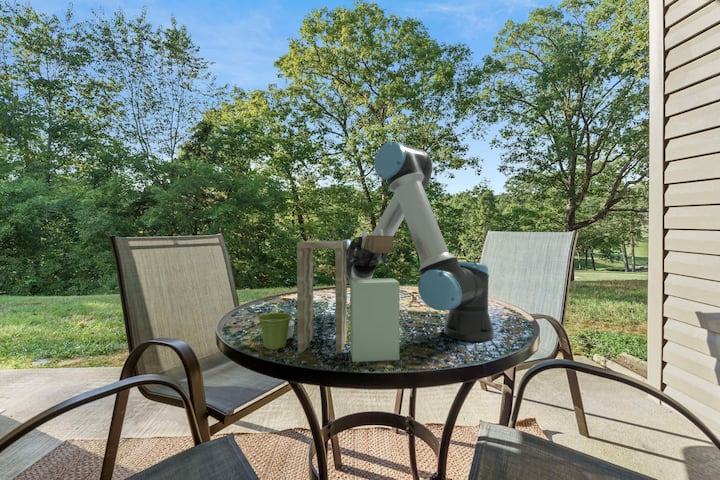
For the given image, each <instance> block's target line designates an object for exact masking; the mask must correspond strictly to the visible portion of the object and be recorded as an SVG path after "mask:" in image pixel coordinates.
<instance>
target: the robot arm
mask: <svg viewBox="0 0 720 480" xmlns="http://www.w3.org/2000/svg"><path fill="white" fill-rule="evenodd" d="M373 165H374V171H375V174H376V175H377V176H378V177H380V178H381V179H383V180H385V182H386V184H387V187H388V190H389V191H390V192H392V193H394V194H393V196H392V197H391V199H390V201H389V203H388V205H387V207H386V208H385V210H384V211H383V213H382V215H381V217H380V219H379V220H378V222H377V224H376V227H375V228H374V229H373V231H372V234H371V235H380V236H393V237H394V235H395V234H396V232H397V230H398V229H399V227H400V226H401V225H402V222H403V221H404V220H405V223H406V224H407V225H406V226H407V227H408V230H409V233H410V235H411V238H412V241H413V243H414V246H415V249H416V251H417V254H418V257H419V260H420V263H421V264H420V267H419V269H418V272H419V275H420V278H419V282H418V284H417V289H418V293H419V294H418V295H419V297H420V298H421V300H422V301H423V303H424V304H425V305H426V306H428V307H429V308H431V309H433V310H436V311H440V312H441V311H448V314H447V317H446V320H445V322H444V326H443V327H444V328H443V329H444V331H443V332H444V335H446V336H447V337H449V338H452V339H454V340H459V341H465V342H484V341H485V342H486V341H490V340H492V339H494V337H495V331H494V330H495V329H494V327H493V323H492V319H491V317H490V314H489V277H490V274H489V268H488V265H487V264H485V263H479V262H469V261H459V260H458V258H457V256H456V255H453V254H451V253H450V252H449V249H448V246H447V245H446V241H445V239H444V236H443V234H442V231H441V230H440V226H439V224H438V221H437V219H436V216H435V214H434V211H433V208H432V206H431V204H430V201H429V198H428V195H427V193H426V190H425V189H426V188H427V186H428V184H429V181H430V179H431V176H432V173H433V162H432V158H431V156H430V155H429V154H428V153H427V152H426V151H425V150H424V149H422V148H418V147H415V146H412V145H409V144H405V143H403V142H400V141H387V142H386V143H384V144H383V145H382V146H381V147H380V148H379V149H378V150H377V152H376V155H375V158H374V164H373ZM367 235H368V234H367V228H363V230H362V234H361V235H360V236H358V237H357V240H356V241H353V240H351V239H349V238H348V239H343V240H342V241H347V280H348V286H349V288H350V279H368V278H373V276H374V273H375V270H376V268H377V265H378V264H381V263H382V264H387V263H388V260H387V257H388V254H389V253H374V252H372V251H369V250H366V249H363V248H364V245H365V242H366V238H367Z"/></svg>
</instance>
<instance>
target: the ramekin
mask: <svg viewBox="0 0 720 480" xmlns="http://www.w3.org/2000/svg"><path fill="white" fill-rule="evenodd" d="M294 328H295V321H293V320H291V319H290V323H289V326H288V333H287V340H288V339H291V338H292V337H293V336H294V331H295V330H294Z"/></svg>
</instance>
